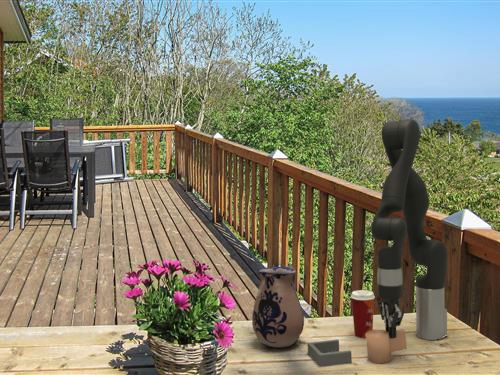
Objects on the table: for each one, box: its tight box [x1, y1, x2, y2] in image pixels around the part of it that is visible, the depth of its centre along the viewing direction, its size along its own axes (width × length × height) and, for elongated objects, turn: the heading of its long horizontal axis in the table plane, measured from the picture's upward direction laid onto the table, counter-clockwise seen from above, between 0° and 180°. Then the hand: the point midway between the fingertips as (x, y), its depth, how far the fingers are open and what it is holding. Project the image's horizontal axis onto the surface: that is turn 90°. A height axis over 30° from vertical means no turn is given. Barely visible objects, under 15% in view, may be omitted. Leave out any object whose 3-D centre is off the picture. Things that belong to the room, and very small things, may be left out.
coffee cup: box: [350, 289, 375, 339], centre depth 204 cm, size 8×8×15 cm
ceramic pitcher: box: [251, 265, 305, 349], centre depth 200 cm, size 18×21×25 cm
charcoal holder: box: [307, 339, 353, 368], centre depth 185 cm, size 10×11×4 cm
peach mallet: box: [365, 328, 408, 364], centre depth 182 cm, size 12×7×8 cm, turn 103°
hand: (390, 336), depth 182 cm, fingers closed on peach mallet
